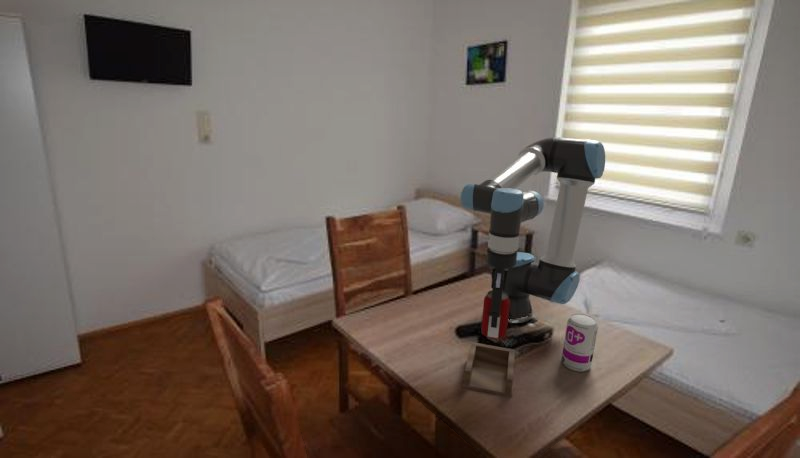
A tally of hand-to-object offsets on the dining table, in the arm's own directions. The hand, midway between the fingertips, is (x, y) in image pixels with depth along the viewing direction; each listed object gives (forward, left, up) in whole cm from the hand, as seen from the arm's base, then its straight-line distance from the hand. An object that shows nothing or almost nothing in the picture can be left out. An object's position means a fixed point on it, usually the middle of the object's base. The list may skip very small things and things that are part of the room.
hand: (493, 329), depth 116 cm
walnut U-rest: (-1, -1, -15) cm, 15 cm away
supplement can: (-29, 0, -15) cm, 32 cm away
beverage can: (0, 0, -2) cm, 2 cm away
